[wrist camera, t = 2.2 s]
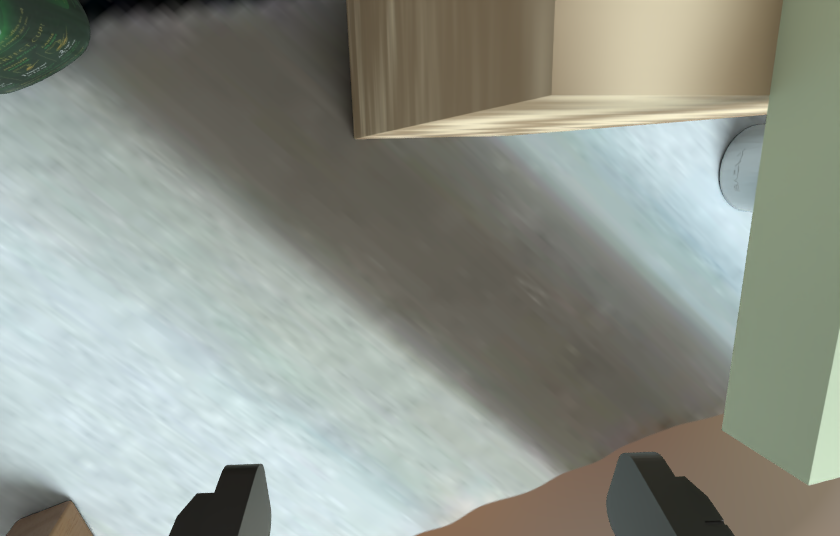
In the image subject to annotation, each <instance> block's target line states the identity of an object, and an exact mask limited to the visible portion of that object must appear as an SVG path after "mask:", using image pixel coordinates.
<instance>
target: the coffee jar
mask: <svg viewBox="0 0 840 536" xmlns="http://www.w3.org/2000/svg"><path fill="white" fill-rule="evenodd" d="M89 40H90V26H89V21H88V18H87V16H86V14H85V11H84V9H83V8H82V6H81V4H80V2H79V1H78V0H0V94H6V93H11V92H14V91H17V90H20V89H23V88H25V87H28V86H31V85H33V84H35V83H37V82H40V81H42V80H43V79H45V78H47V77H49V76H51V75H53V74H55V73H57V72H58V71H60V70H62V69H63V68H65V67H66V66H68V65H69V64H71V63H72V62H73V61H75V60H76V59H77V58H78V57H79V56H81V55H82V54H83V53H84V51H85V50H86V48H87V46H88V44H89Z"/></svg>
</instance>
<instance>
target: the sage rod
mask: <svg viewBox="0 0 840 536" xmlns="http://www.w3.org/2000/svg"><path fill="white" fill-rule="evenodd" d="M722 430H723V431H724V432H726V433H728V434H729V435H731V436H732V437H734V438H735V439H737V440H738V441H740V442H742V443H743V444H745V445H746V446H748V447H749V448H751V449H752V450H754V451H755V452H757V453H759V454H760V455H762V456H764V457H765V458H766V459H768V460H770V461H771V462H773V463H774V464H776V465H777V466H779V467H781V468H782V469H784V470H785V471H787V472H788V473H790V474H791V475H793V476H795V477H796V478H798V479H799V480H801V481H802V482H804V483H806V484H807V485H812V484H816V483H819V482H823V481H827V480H831V479H834V478H839V477H840V0H783V5H782V12H781V19H780V26H779V33H778V40H777V47H776V54H775V61H774V68H773V75H772V82H771V89H770V96H769V103H768V110H767V117H766V124H765V131H764V138H763V145H762V152H761V159H760V166H759V173H758V180H757V187H756V194H755V201H754V208H753V215H752V222H751V229H750V236H749V243H748V250H747V257H746V264H745V271H744V278H743V285H742V292H741V299H740V306H739V313H738V320H737V327H736V334H735V341H734V348H733V355H732V362H731V369H730V376H729V383H728V390H727V397H726V404H725V411H724V419H723V425H722Z"/></svg>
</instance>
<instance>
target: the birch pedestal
mask: <svg viewBox="0 0 840 536" xmlns="http://www.w3.org/2000/svg"><path fill="white" fill-rule="evenodd" d="M346 5H347V22H348V39H349V56H350V73H351V91H352V108H353V125H354V139H377V138H424V137H471V136H510V135H523V134H535V133H547V132H559V131H572V130H584V129H596V128H609V127H621V126H633V125H646V124H658V123H670V122H683V121H695V120H707V119H720V118H732V117H744V116H756V115H767V110H768V103H769V96H770V89H771V82H772V75H773V68H774V61H775V54H776V47H777V40H778V33H779V26H780V19H781V12H782V5H783V0H346Z"/></svg>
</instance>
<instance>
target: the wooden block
mask: <svg viewBox="0 0 840 536" xmlns="http://www.w3.org/2000/svg"><path fill="white" fill-rule="evenodd" d="M6 536H93V534H92V533H91V531H90V529H89V528H88V526H87V525H86V523H85V521H84V520H83V518H82V516H81V515H80V513H79V512H78V510H77V508H76V507H75V505H74V503H73V502H72V501H66V502H64V503H61V504H58V505H56V506H53V507H51V508H48V509H45V510H43V511H40V512H38V513H35V514H32V515H30V516H27V517H25V518H22V519H20V520H18V521H17V522H16V523H15V524H14V525H13V527H12V528H11V529H10V531H9V532H8V533H7V535H6Z"/></svg>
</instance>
